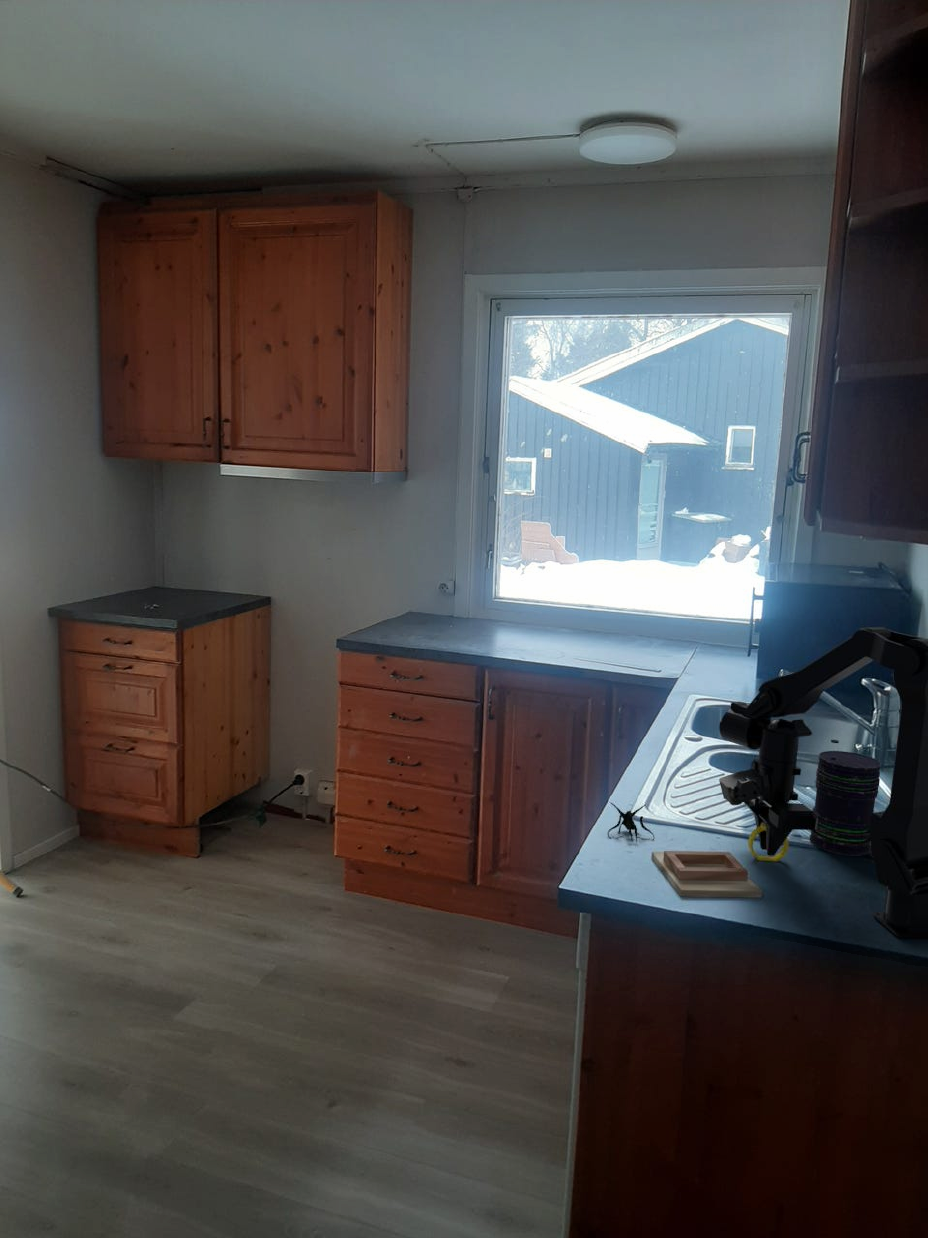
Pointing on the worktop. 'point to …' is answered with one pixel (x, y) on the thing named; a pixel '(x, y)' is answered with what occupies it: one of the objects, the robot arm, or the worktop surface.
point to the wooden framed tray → (705, 874)
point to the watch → (766, 858)
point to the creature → (629, 822)
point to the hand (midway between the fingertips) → (767, 852)
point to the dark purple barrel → (845, 801)
